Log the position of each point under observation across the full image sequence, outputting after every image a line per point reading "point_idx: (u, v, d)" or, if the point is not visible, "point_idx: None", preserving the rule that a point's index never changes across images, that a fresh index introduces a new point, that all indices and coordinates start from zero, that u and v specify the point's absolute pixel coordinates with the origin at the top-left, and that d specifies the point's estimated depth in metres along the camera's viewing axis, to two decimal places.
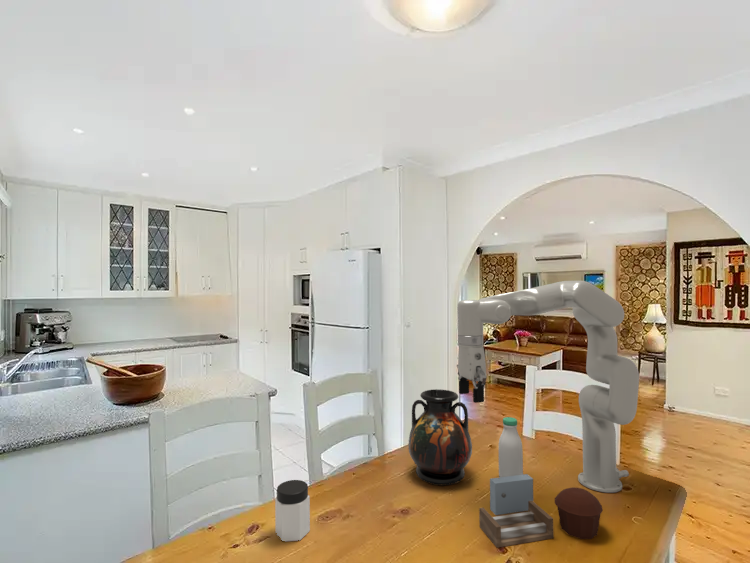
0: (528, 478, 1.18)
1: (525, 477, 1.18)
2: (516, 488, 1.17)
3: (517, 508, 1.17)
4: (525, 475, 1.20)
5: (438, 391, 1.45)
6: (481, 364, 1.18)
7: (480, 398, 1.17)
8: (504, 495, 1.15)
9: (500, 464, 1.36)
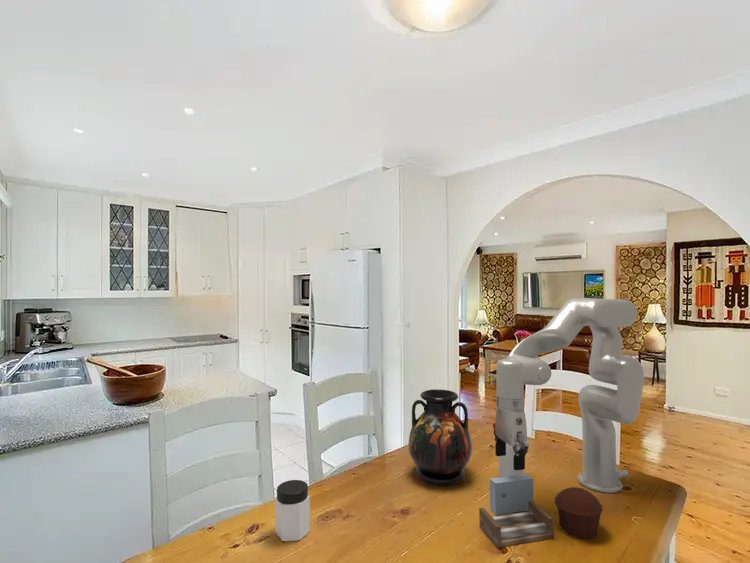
0: (528, 478, 1.18)
1: (525, 477, 1.18)
2: (516, 488, 1.17)
3: (517, 508, 1.17)
4: (525, 475, 1.20)
5: (438, 391, 1.45)
6: (522, 430, 1.13)
7: (521, 466, 1.12)
8: (504, 495, 1.15)
9: (500, 464, 1.36)
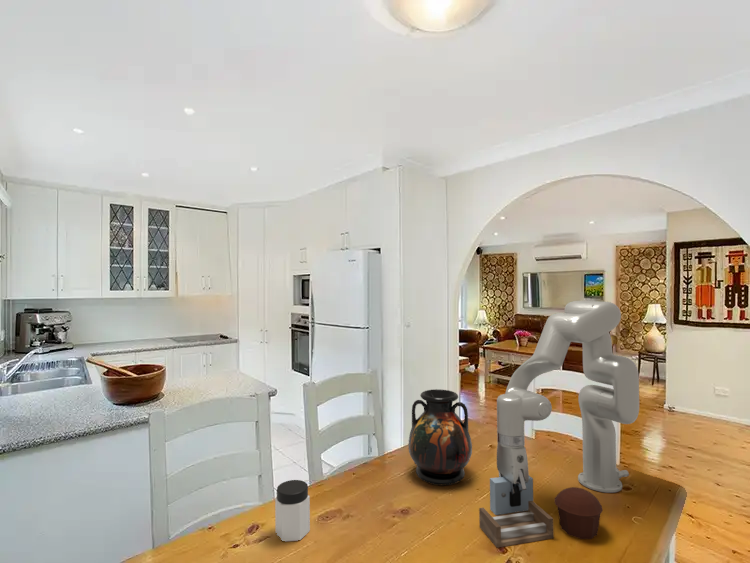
0: None
1: None
2: None
3: (517, 508, 1.17)
4: None
5: (438, 391, 1.45)
6: (524, 467, 1.13)
7: (517, 502, 1.15)
8: (504, 495, 1.15)
9: None
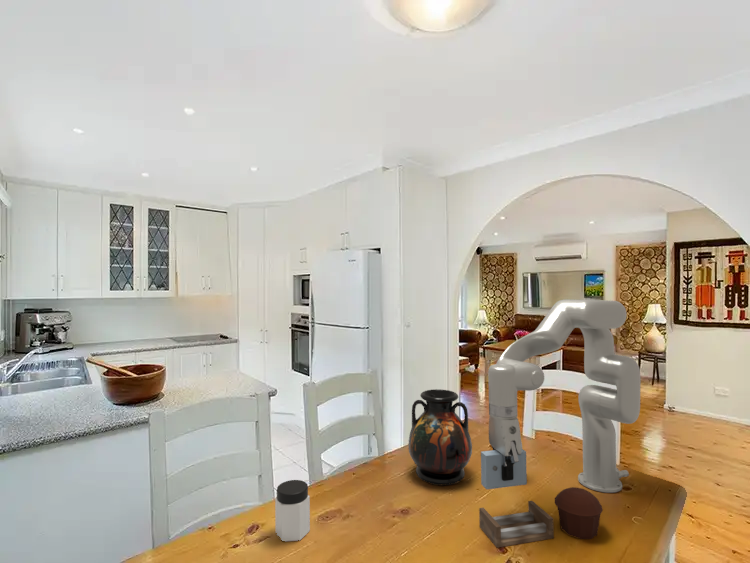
0: (521, 451, 1.13)
1: None
2: None
3: (509, 482, 1.11)
4: None
5: (438, 391, 1.45)
6: (516, 438, 1.08)
7: (509, 476, 1.10)
8: (495, 468, 1.10)
9: None
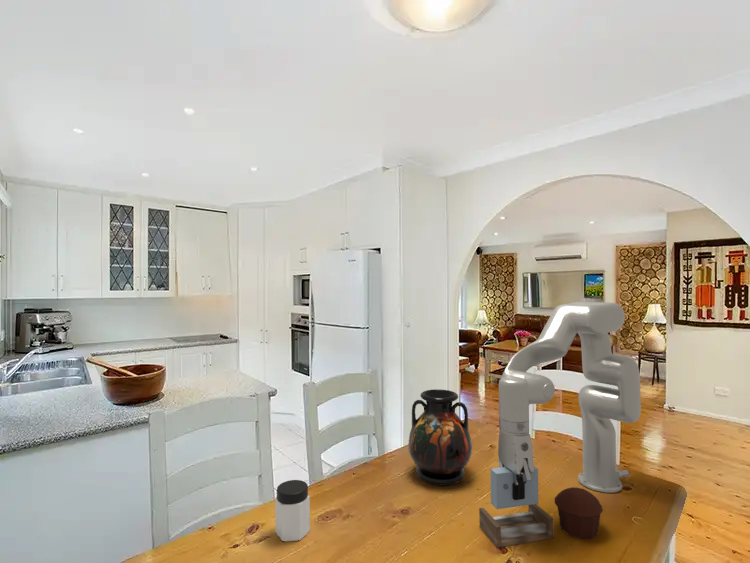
0: None
1: None
2: None
3: (520, 501, 1.06)
4: None
5: (438, 391, 1.45)
6: (528, 456, 1.03)
7: (521, 495, 1.04)
8: (506, 487, 1.04)
9: (500, 464, 1.36)
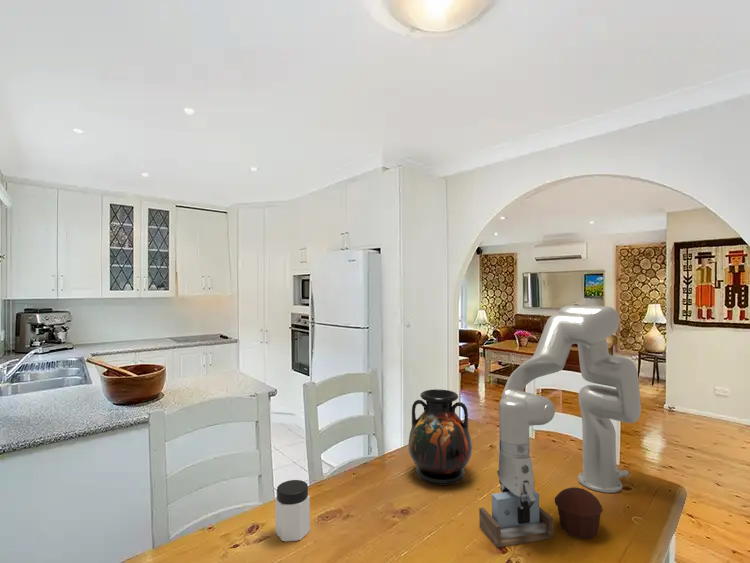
0: (534, 493, 1.07)
1: None
2: None
3: None
4: None
5: (438, 391, 1.45)
6: (529, 478, 1.02)
7: (526, 519, 1.02)
8: (507, 512, 1.04)
9: None
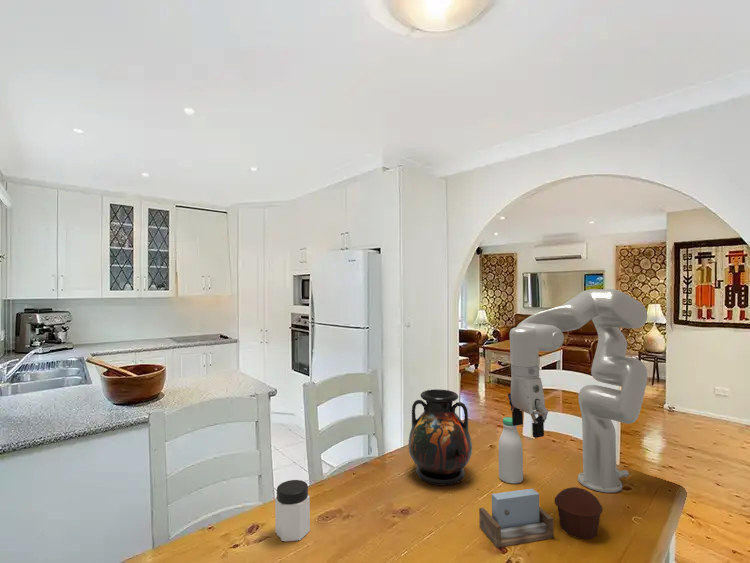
0: (534, 493, 1.07)
1: (530, 492, 1.08)
2: (521, 504, 1.06)
3: None
4: (530, 489, 1.09)
5: (438, 391, 1.45)
6: (540, 397, 1.12)
7: (540, 433, 1.11)
8: (507, 512, 1.04)
9: (500, 464, 1.36)
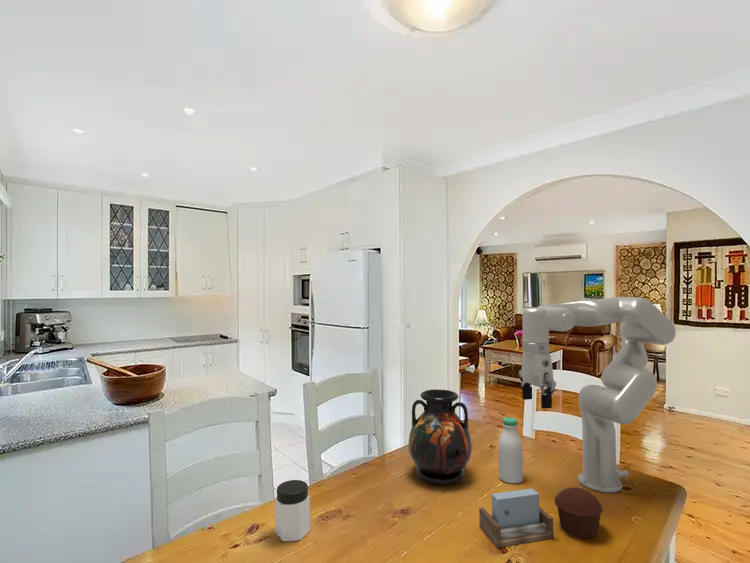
0: (534, 493, 1.07)
1: (530, 492, 1.08)
2: (521, 504, 1.06)
3: None
4: (530, 489, 1.09)
5: (438, 391, 1.45)
6: (549, 371, 1.21)
7: (548, 404, 1.20)
8: (507, 512, 1.04)
9: (500, 464, 1.36)
